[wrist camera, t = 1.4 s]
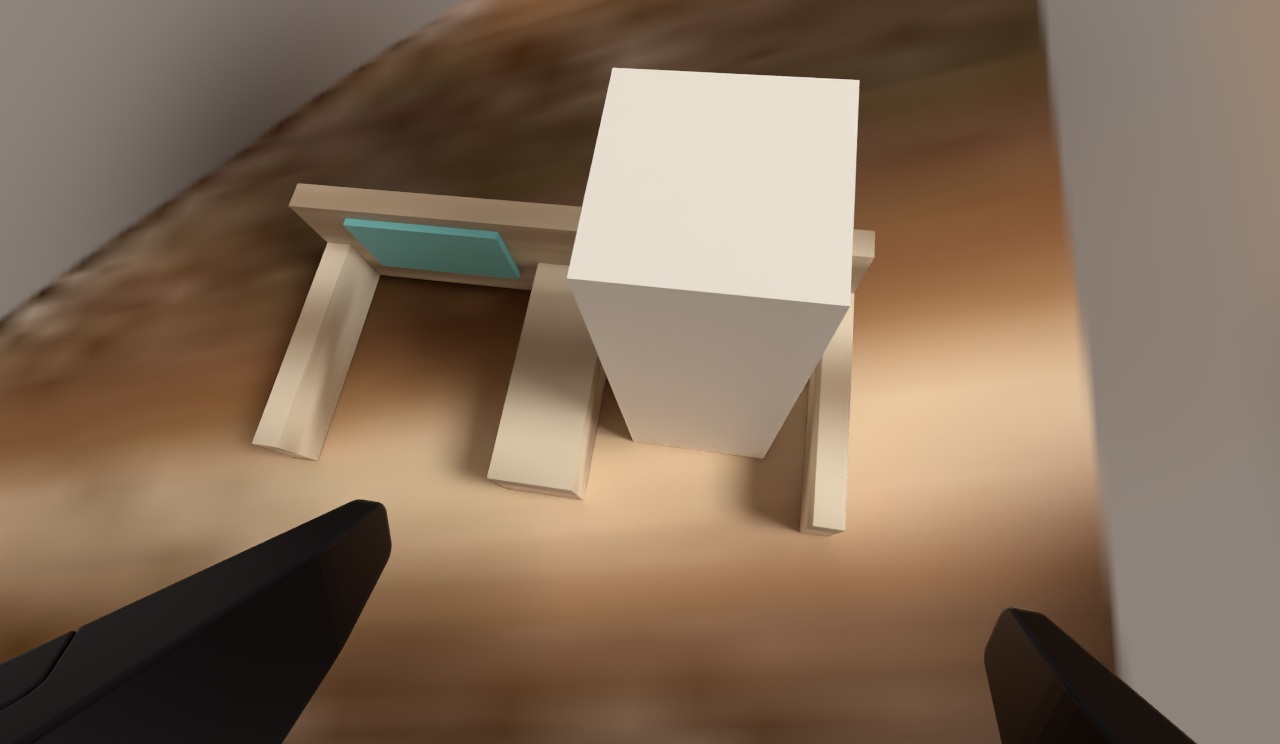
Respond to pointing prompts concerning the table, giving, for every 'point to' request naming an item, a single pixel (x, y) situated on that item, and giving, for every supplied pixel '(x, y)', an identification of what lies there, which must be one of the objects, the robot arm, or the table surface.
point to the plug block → (716, 249)
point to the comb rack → (549, 344)
